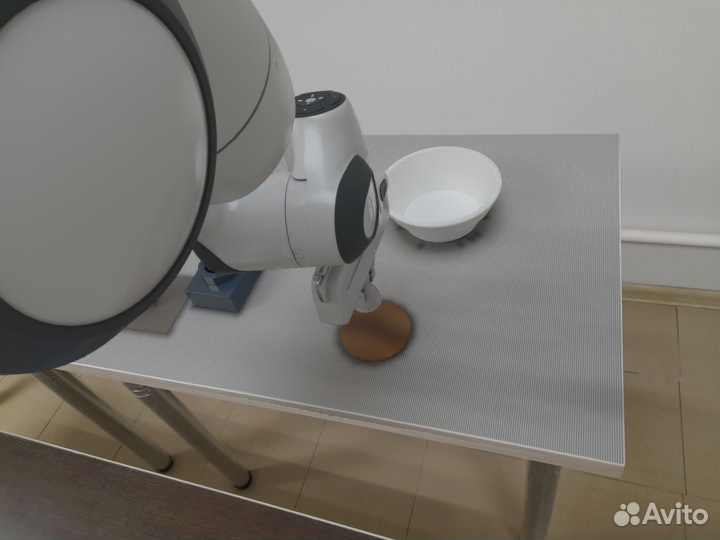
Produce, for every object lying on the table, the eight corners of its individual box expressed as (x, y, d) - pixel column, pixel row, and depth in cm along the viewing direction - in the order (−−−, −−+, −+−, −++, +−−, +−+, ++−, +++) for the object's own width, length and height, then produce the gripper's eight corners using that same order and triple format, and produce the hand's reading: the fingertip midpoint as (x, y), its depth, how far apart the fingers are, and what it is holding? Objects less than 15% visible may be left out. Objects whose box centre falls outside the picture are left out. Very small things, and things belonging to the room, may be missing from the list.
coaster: (401, 367, 76) (400, 365, 75) (331, 355, 79) (330, 353, 79) (418, 307, 82) (418, 305, 82) (353, 299, 86) (352, 297, 86)
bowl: (414, 278, 86) (408, 244, 80) (367, 206, 101) (359, 173, 95) (525, 230, 89) (528, 194, 83) (464, 167, 103) (463, 131, 97)
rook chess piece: (347, 310, 75) (334, 275, 69) (360, 286, 78) (348, 251, 72) (374, 318, 74) (363, 283, 68) (387, 293, 76) (377, 257, 70)
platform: (119, 272, 101) (100, 249, 97) (198, 279, 96) (182, 255, 91) (83, 322, 94) (61, 299, 89) (166, 333, 89) (148, 310, 84)
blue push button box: (238, 312, 89) (225, 290, 84) (194, 306, 92) (179, 284, 87) (264, 264, 95) (253, 242, 91) (222, 260, 98) (210, 237, 94)
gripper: (340, 285, 56) (364, 355, 66) (390, 165, 68) (404, 239, 78) (288, 279, 58) (318, 347, 68) (346, 163, 70) (364, 236, 80)
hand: (364, 289), depth 73 cm, fingers closed on rook chess piece, 3 cm apart
